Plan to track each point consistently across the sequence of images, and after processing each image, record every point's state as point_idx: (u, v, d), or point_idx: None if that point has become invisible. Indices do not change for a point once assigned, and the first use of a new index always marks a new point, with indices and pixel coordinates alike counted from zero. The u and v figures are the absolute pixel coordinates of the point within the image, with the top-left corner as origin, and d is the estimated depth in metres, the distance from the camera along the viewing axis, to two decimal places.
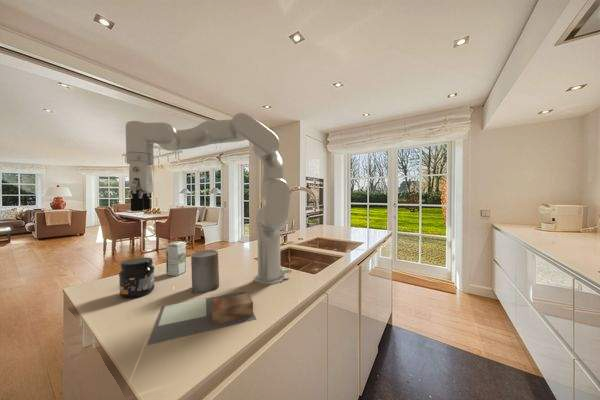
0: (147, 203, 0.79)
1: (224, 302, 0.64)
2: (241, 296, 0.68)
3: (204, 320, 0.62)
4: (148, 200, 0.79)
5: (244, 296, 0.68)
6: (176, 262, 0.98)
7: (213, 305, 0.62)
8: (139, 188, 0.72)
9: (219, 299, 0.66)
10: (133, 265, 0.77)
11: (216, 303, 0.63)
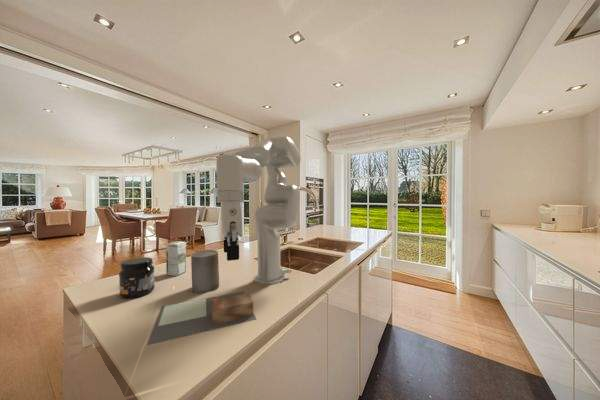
0: None
1: (224, 302, 0.64)
2: (241, 296, 0.68)
3: (204, 320, 0.62)
4: None
5: (244, 296, 0.68)
6: (176, 262, 0.98)
7: (213, 305, 0.62)
8: None
9: (219, 299, 0.66)
10: (133, 265, 0.77)
11: (216, 303, 0.63)
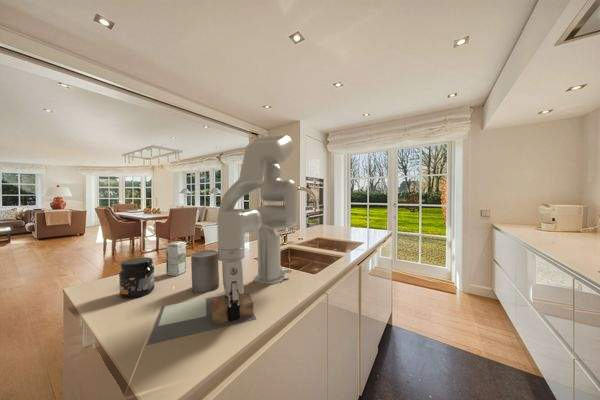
0: None
1: (224, 302, 0.64)
2: (241, 296, 0.68)
3: (204, 320, 0.62)
4: None
5: (244, 296, 0.68)
6: (176, 262, 0.98)
7: (213, 305, 0.62)
8: None
9: (219, 299, 0.66)
10: (133, 265, 0.77)
11: (216, 303, 0.63)
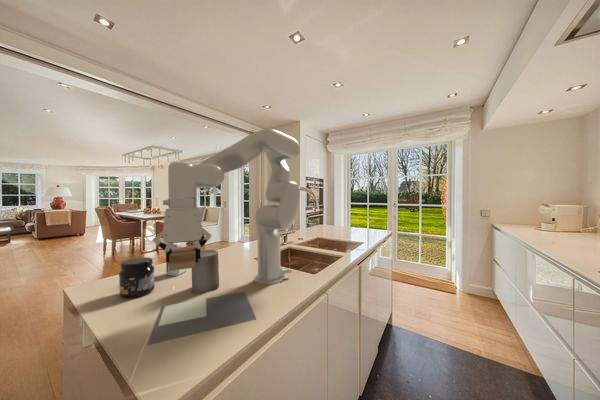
0: None
1: (184, 249, 0.69)
2: (190, 252, 0.65)
3: (204, 320, 0.62)
4: None
5: (188, 253, 0.64)
6: None
7: (182, 247, 0.71)
8: None
9: (192, 247, 0.71)
10: (133, 265, 0.77)
11: (184, 247, 0.71)
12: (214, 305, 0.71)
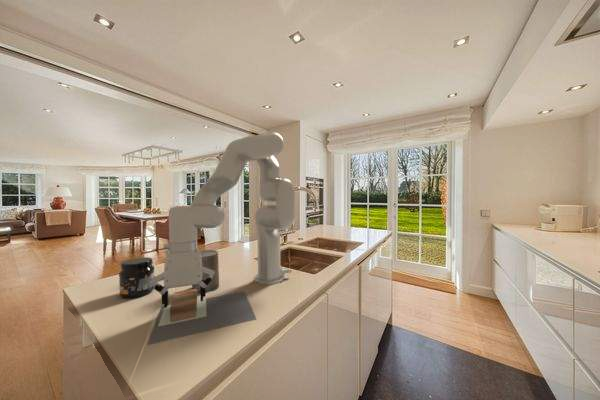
0: None
1: (185, 294, 0.69)
2: (190, 300, 0.65)
3: (204, 320, 0.62)
4: (200, 290, 0.68)
5: (189, 302, 0.64)
6: None
7: (183, 291, 0.72)
8: None
9: (193, 291, 0.71)
10: (133, 265, 0.77)
11: (185, 291, 0.71)
12: (214, 305, 0.71)
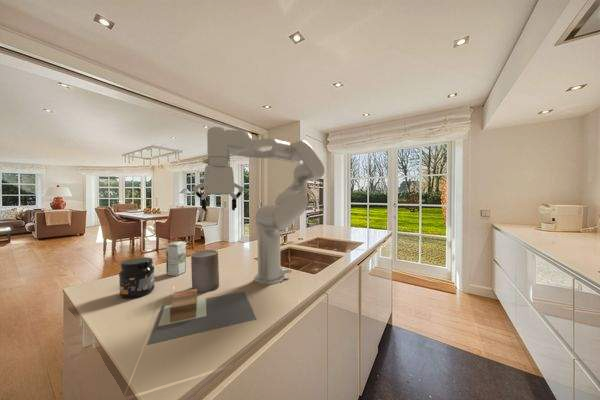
0: (232, 204, 0.80)
1: (185, 294, 0.69)
2: (190, 300, 0.65)
3: (204, 320, 0.62)
4: (232, 201, 0.80)
5: (189, 302, 0.64)
6: (176, 262, 0.98)
7: (183, 291, 0.72)
8: None
9: (193, 291, 0.71)
10: (133, 265, 0.77)
11: (185, 291, 0.71)
12: (214, 305, 0.71)
